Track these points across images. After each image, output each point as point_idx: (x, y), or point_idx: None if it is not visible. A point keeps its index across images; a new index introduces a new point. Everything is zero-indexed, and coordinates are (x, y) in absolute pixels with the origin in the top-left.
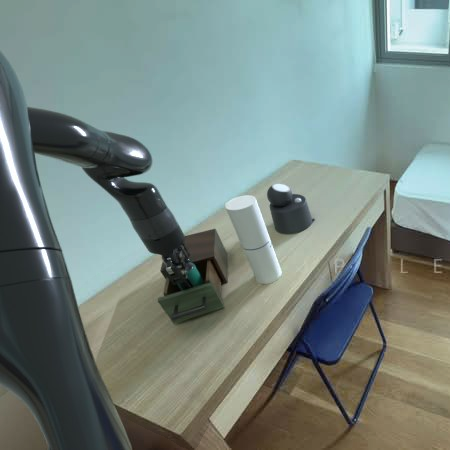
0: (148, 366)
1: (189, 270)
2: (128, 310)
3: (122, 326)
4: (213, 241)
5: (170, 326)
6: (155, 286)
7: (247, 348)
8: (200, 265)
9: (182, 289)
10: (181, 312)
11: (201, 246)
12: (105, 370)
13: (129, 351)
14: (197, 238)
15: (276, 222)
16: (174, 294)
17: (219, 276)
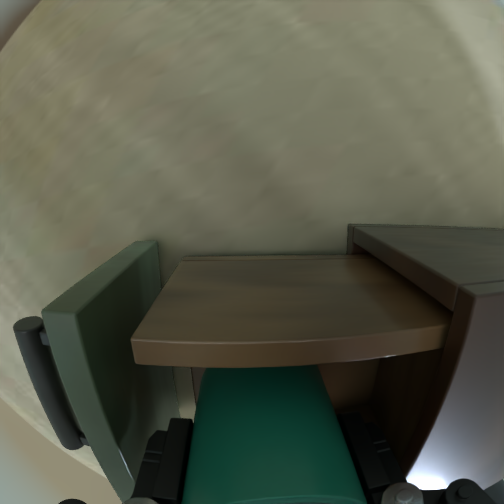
0: (3, 175)
1: None
2: (360, 22)
3: (259, 9)
4: (485, 487)
5: (149, 214)
6: (467, 123)
7: (23, 418)
8: (410, 431)
9: (204, 402)
10: (34, 374)
11: (499, 459)
12: (50, 36)
13: (87, 78)
14: None
15: None
16: (90, 412)
17: None
